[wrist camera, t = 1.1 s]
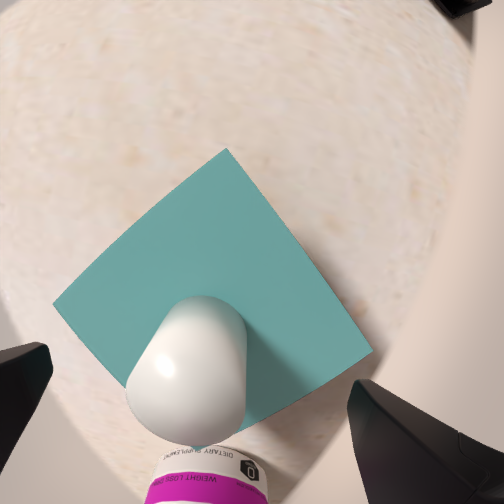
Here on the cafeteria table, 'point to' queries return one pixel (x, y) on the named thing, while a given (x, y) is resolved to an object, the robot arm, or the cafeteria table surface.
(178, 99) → the cafeteria table surface
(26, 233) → the cafeteria table surface
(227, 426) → the lid
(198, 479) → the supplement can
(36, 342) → the robot arm
